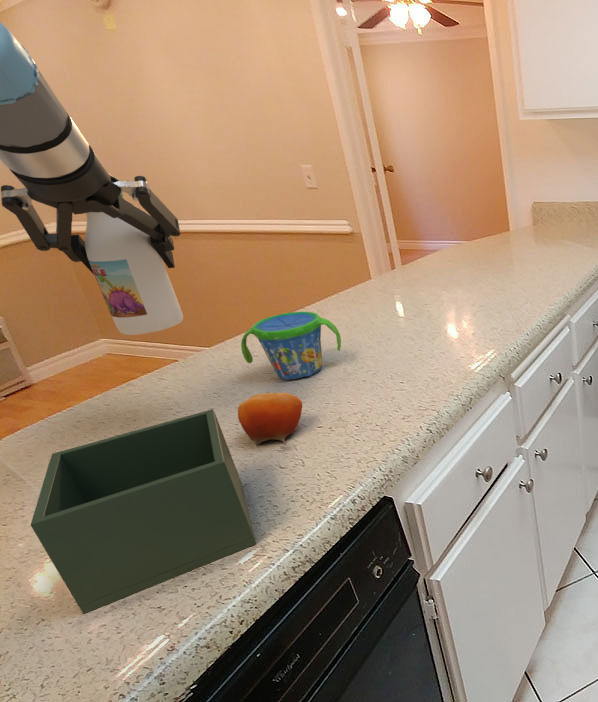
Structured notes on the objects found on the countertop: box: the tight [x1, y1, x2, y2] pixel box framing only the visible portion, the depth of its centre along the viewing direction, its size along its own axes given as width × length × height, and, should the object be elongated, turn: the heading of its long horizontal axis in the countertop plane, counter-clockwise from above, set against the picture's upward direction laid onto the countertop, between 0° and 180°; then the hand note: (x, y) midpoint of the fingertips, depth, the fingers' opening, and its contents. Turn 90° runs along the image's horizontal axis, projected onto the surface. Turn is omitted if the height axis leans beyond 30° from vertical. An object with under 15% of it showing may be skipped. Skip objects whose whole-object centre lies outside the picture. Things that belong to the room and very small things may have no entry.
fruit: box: [237, 392, 303, 446], centre depth 82 cm, size 8×8×8 cm
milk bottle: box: [84, 192, 184, 336], centre depth 78 cm, size 8×8×20 cm
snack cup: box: [240, 311, 342, 381], centre depth 101 cm, size 16×10×10 cm
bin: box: [30, 408, 257, 614], centre depth 61 cm, size 15×15×11 cm
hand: (135, 264), depth 81 cm, fingers closed on milk bottle, 8 cm apart
